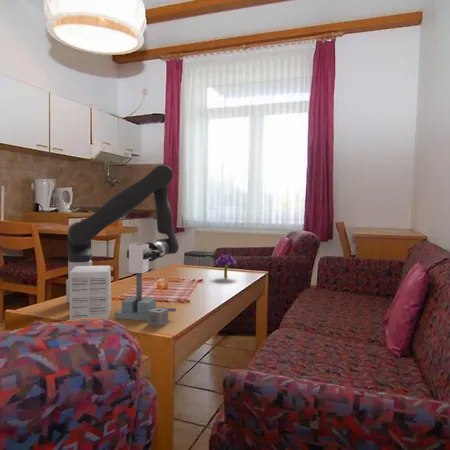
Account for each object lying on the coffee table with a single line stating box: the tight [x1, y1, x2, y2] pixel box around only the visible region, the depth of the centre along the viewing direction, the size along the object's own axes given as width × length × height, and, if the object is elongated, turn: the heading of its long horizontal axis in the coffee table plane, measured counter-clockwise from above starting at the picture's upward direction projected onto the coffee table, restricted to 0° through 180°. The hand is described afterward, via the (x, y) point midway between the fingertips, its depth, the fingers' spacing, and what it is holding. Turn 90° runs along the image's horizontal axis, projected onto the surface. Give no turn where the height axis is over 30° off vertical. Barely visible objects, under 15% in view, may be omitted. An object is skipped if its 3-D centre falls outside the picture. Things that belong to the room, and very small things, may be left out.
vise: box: [114, 273, 177, 322], centre depth 138 cm, size 21×10×19 cm, turn 80°
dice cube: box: [147, 306, 169, 328], centre depth 130 cm, size 5×5×5 cm
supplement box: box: [69, 265, 112, 321], centre depth 137 cm, size 13×13×18 cm
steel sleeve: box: [128, 243, 150, 274], centre depth 138 cm, size 5×5×10 cm
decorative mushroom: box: [214, 251, 238, 279], centre depth 211 cm, size 12×12×15 cm
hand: (136, 256), depth 135 cm, fingers closed on steel sleeve, 5 cm apart
